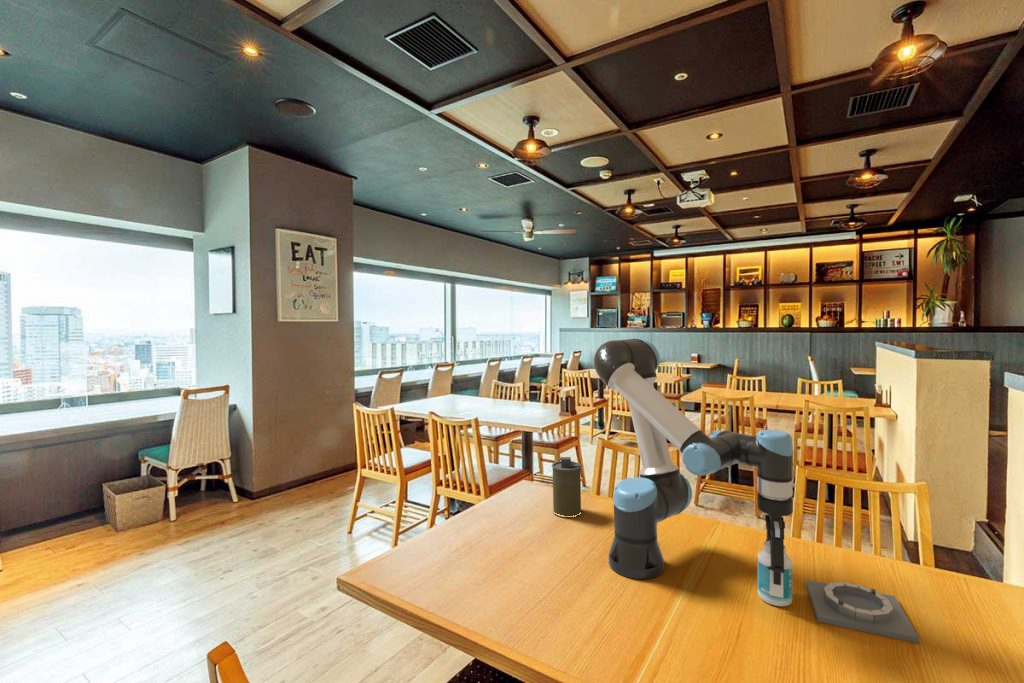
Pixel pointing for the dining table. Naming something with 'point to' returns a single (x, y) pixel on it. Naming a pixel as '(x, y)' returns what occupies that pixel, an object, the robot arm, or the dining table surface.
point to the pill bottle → (764, 578)
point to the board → (894, 628)
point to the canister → (566, 487)
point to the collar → (856, 613)
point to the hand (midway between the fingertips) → (774, 585)
